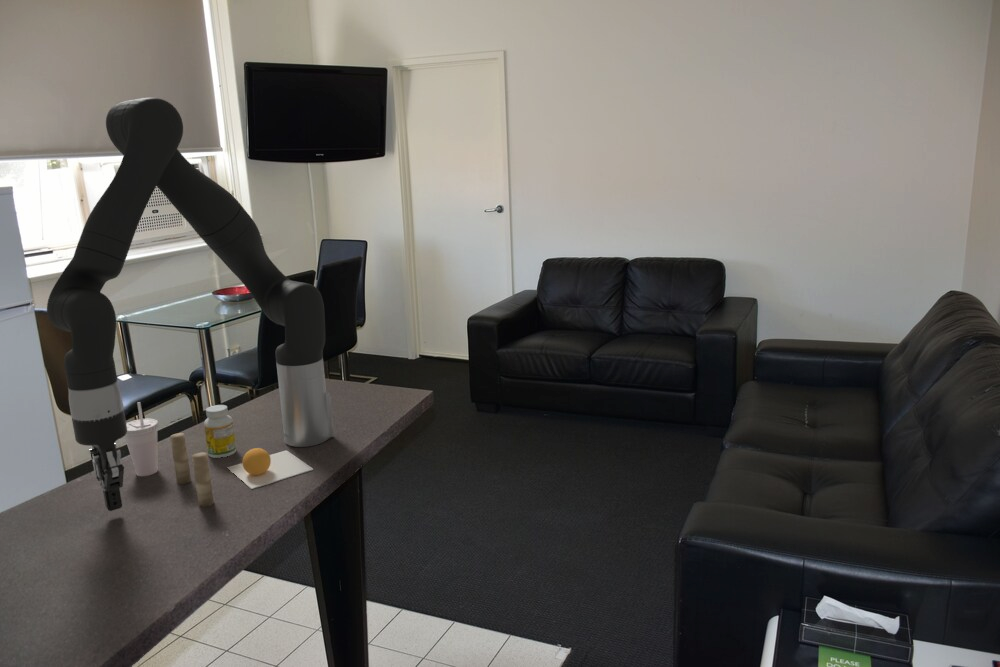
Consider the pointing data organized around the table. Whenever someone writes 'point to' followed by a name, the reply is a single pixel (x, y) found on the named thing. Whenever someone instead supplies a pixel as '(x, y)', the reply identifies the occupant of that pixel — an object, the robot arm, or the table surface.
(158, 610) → the table surface
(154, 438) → the smoothie
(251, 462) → the ball
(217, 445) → the supplement bottle
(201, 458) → the post
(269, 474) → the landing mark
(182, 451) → the post
